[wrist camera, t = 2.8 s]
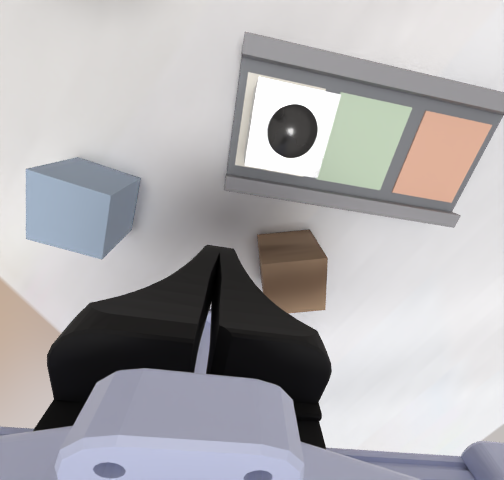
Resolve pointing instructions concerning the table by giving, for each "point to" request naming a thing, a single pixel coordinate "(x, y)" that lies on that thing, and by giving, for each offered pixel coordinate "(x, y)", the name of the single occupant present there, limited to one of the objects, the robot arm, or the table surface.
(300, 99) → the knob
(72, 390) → the robot arm
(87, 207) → the slate-blue block
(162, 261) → the table surface
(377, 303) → the table surface
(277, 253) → the walnut block
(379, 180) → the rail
